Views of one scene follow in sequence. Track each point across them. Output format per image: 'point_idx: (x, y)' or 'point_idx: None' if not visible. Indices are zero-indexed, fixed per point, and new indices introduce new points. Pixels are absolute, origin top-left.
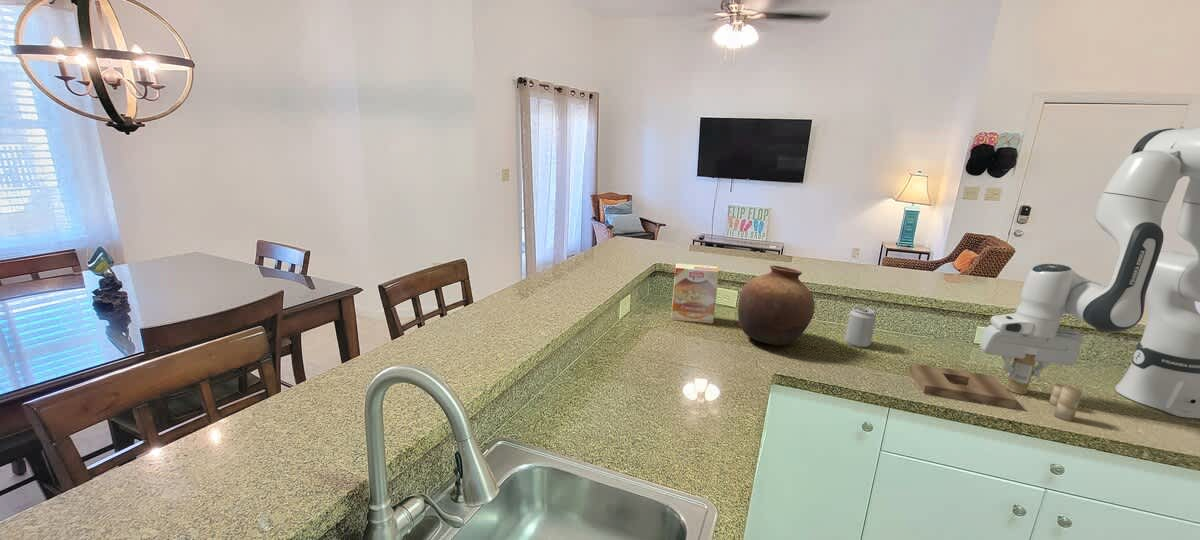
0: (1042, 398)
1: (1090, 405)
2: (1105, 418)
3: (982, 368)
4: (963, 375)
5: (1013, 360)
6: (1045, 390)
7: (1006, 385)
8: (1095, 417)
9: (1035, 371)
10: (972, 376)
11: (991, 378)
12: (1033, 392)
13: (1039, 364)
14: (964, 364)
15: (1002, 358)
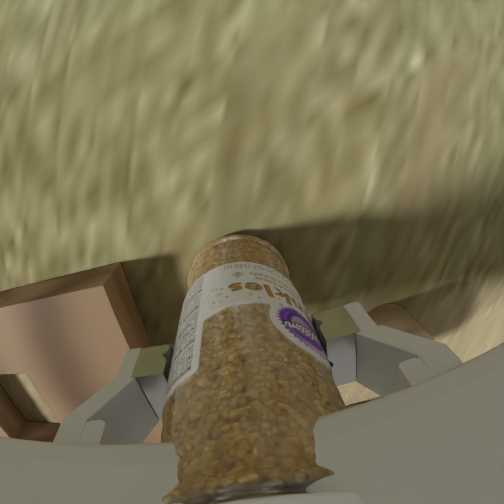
0: (345, 299)
1: (493, 246)
2: (478, 335)
3: (108, 22)
4: (7, 365)
5: (162, 414)
6: (395, 171)
7: (189, 281)
8: (454, 350)
9: (338, 380)
10: (31, 359)
11: (100, 337)
12: (326, 243)
13: (399, 364)
14: (29, 40)
15: (75, 418)
